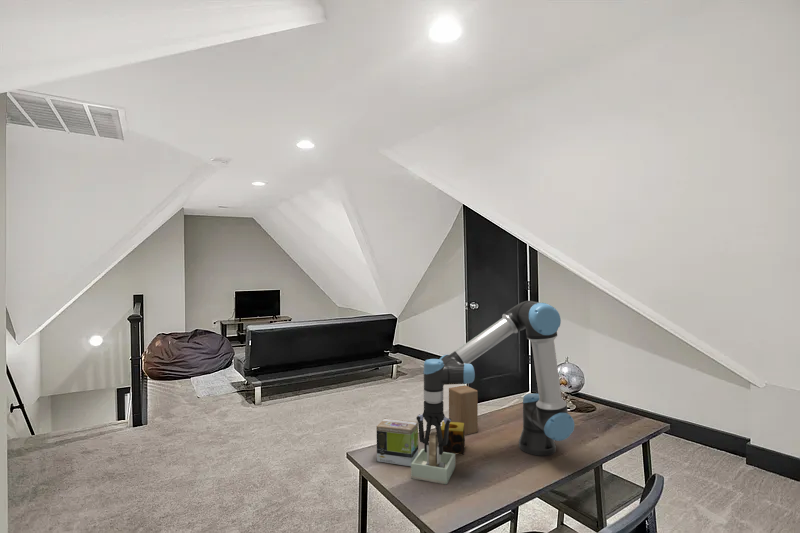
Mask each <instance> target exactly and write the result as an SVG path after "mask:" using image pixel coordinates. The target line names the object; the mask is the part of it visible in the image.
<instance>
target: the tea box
mask: <svg viewBox="0 0 800 533" xmlns="http://www.w3.org/2000/svg"><path fill="white" fill-rule="evenodd" d="M418 454H419V427H418V421H413V420H406V419H405V420H404V419H395V418H384V419H382V420H381V421H380V422H379V423H378V424H377V425H376V461H377V462H380V463H386V464H394V465H399V466H406V467H411V463H412V462H413V460H414V459H415V458H416V456H417V455H418Z"/></svg>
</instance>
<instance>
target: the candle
mask: <svg viewBox="0 0 800 533" xmlns="http://www.w3.org/2000/svg"><path fill="white" fill-rule="evenodd" d="M444 428H445V423H444V420H443V421H442V422H441V431H442V437H443V441H444ZM465 441H466V435H464V423H459V422H450V424H449V435H448V443H447V445H446V446H443V452H447V453H454V454H455V455H456V454H457V455H465V449H466V448H465V446H466V444H465V443H466V442H465Z"/></svg>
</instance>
